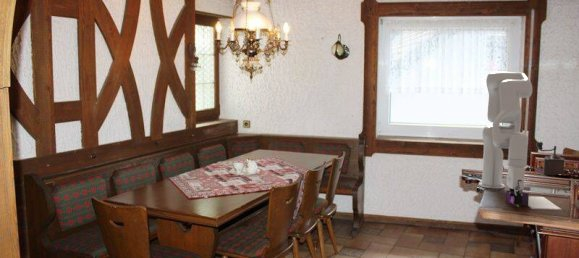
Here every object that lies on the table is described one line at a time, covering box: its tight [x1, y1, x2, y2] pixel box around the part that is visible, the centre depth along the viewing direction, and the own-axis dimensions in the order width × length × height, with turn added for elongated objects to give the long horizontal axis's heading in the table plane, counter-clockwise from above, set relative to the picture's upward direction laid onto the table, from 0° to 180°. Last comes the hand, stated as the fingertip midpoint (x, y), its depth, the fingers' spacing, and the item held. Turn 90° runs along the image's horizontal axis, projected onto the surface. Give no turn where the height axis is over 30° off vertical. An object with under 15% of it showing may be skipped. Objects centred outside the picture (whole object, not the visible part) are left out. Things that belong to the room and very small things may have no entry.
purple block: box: [505, 190, 530, 208], centre depth 233 cm, size 7×5×9 cm
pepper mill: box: [535, 141, 565, 176], centre depth 309 cm, size 16×11×18 cm
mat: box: [527, 195, 562, 211], centre depth 239 cm, size 22×12×1 cm, turn 173°
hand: (514, 201), depth 233 cm, fingers open, 7 cm apart
